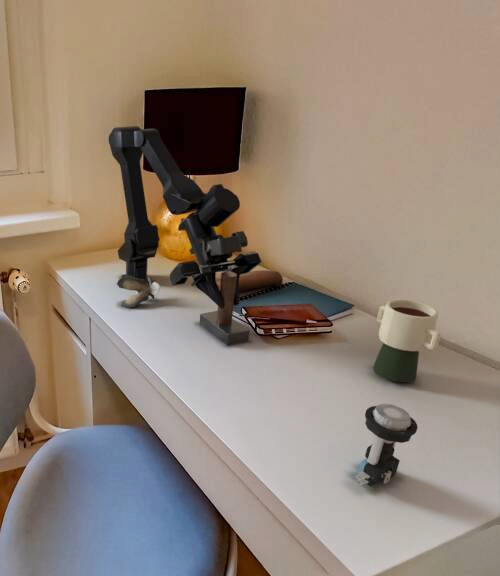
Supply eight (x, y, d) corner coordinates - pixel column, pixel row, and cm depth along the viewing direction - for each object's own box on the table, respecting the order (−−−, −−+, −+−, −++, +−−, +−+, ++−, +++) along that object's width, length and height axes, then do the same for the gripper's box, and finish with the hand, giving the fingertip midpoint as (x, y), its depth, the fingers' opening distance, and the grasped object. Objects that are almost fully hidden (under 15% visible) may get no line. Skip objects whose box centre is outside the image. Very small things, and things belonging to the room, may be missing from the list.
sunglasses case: (260, 274, 122) (271, 258, 117) (274, 295, 118) (286, 279, 113) (201, 284, 117) (211, 268, 112) (214, 307, 113) (224, 290, 108)
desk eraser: (199, 324, 99) (203, 267, 94) (219, 320, 100) (224, 264, 95) (227, 346, 90) (233, 285, 85) (248, 341, 92) (256, 281, 86)
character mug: (439, 390, 75) (462, 319, 70) (404, 397, 74) (425, 326, 69) (383, 356, 85) (400, 292, 80) (351, 362, 83) (366, 297, 78)
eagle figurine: (142, 286, 116) (111, 287, 112) (155, 268, 111) (123, 268, 107) (153, 311, 112) (122, 313, 108) (167, 294, 107) (135, 295, 103)
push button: (375, 502, 55) (395, 437, 52) (335, 473, 60) (350, 410, 56) (408, 482, 58) (429, 418, 54) (367, 455, 63) (384, 394, 59)
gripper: (179, 223, 87) (207, 298, 82) (261, 213, 92) (293, 283, 87) (158, 251, 97) (182, 319, 92) (233, 240, 102) (260, 304, 97)
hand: (230, 306), depth 91 cm, fingers closed on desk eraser, 3 cm apart
